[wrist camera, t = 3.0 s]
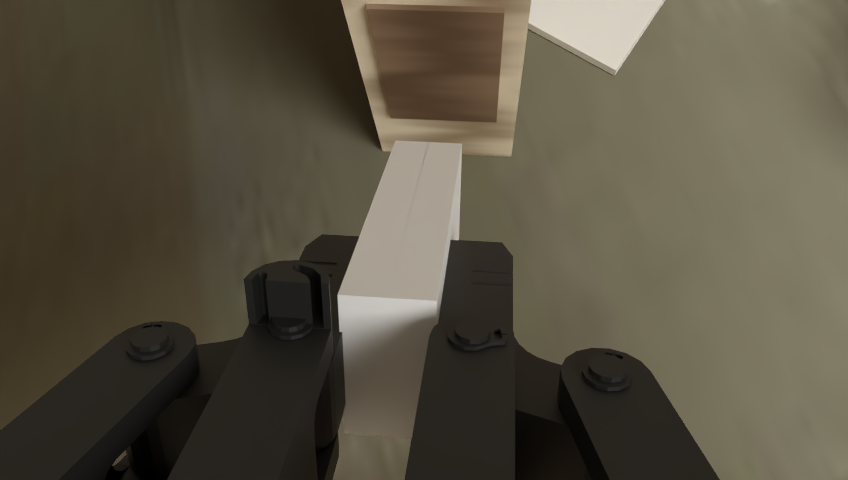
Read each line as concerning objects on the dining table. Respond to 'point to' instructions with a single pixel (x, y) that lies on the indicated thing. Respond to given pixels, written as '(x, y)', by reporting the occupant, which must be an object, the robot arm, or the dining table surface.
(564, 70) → the dining table surface
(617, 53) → the mat
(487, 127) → the birch block
